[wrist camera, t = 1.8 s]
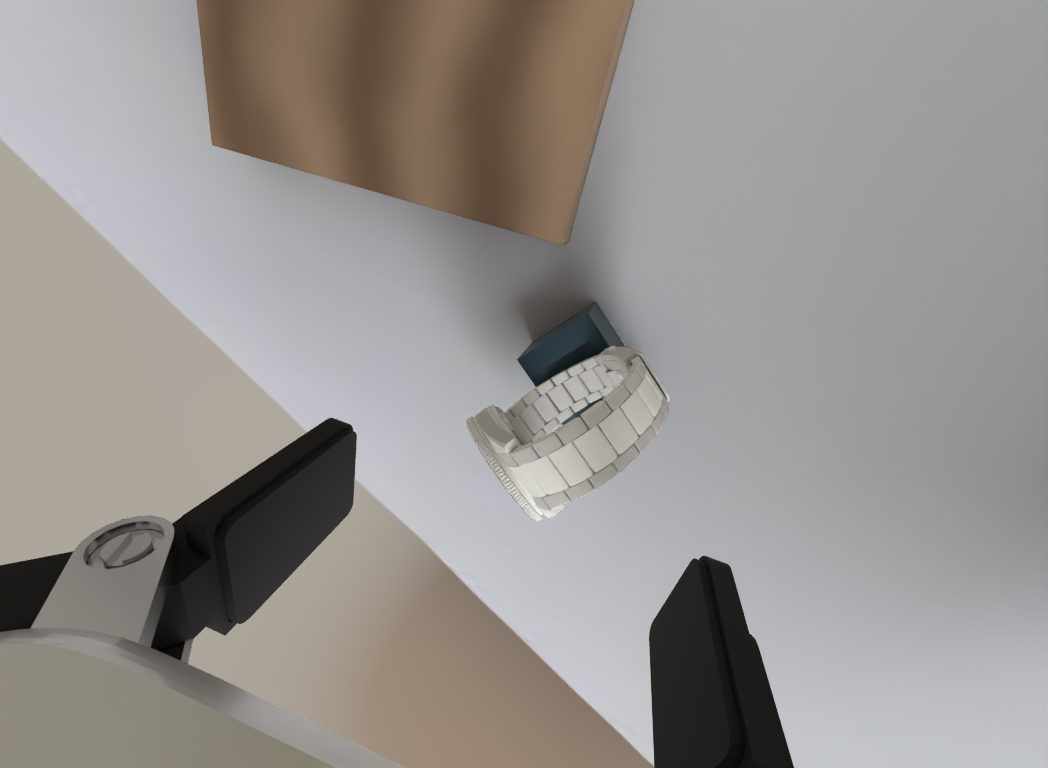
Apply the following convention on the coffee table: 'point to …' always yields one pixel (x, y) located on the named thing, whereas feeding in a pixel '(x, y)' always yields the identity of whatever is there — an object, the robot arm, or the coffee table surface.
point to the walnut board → (421, 97)
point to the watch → (572, 416)
